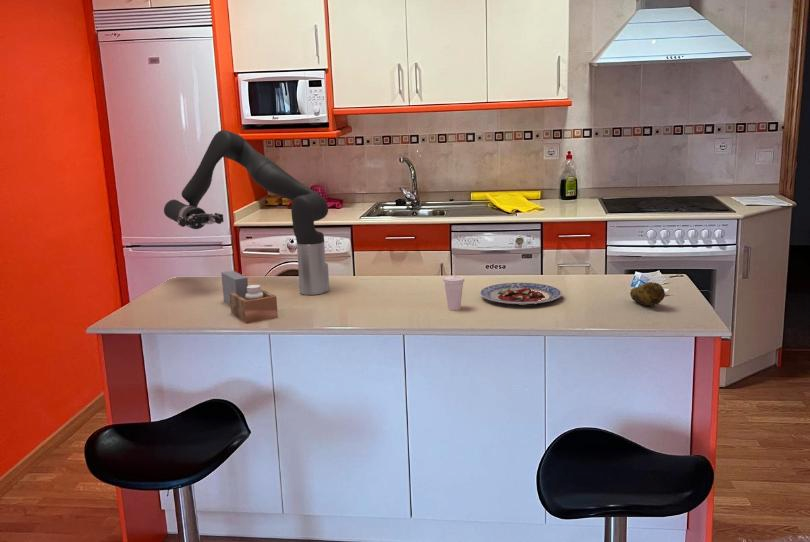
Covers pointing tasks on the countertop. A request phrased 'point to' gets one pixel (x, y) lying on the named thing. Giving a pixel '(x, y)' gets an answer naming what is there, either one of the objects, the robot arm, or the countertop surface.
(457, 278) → the smoothie
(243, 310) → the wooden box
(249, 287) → the supplement bottle
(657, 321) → the countertop surface
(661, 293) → the potato
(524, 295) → the ceramic plate
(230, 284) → the grey rectangular box
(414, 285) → the countertop surface
